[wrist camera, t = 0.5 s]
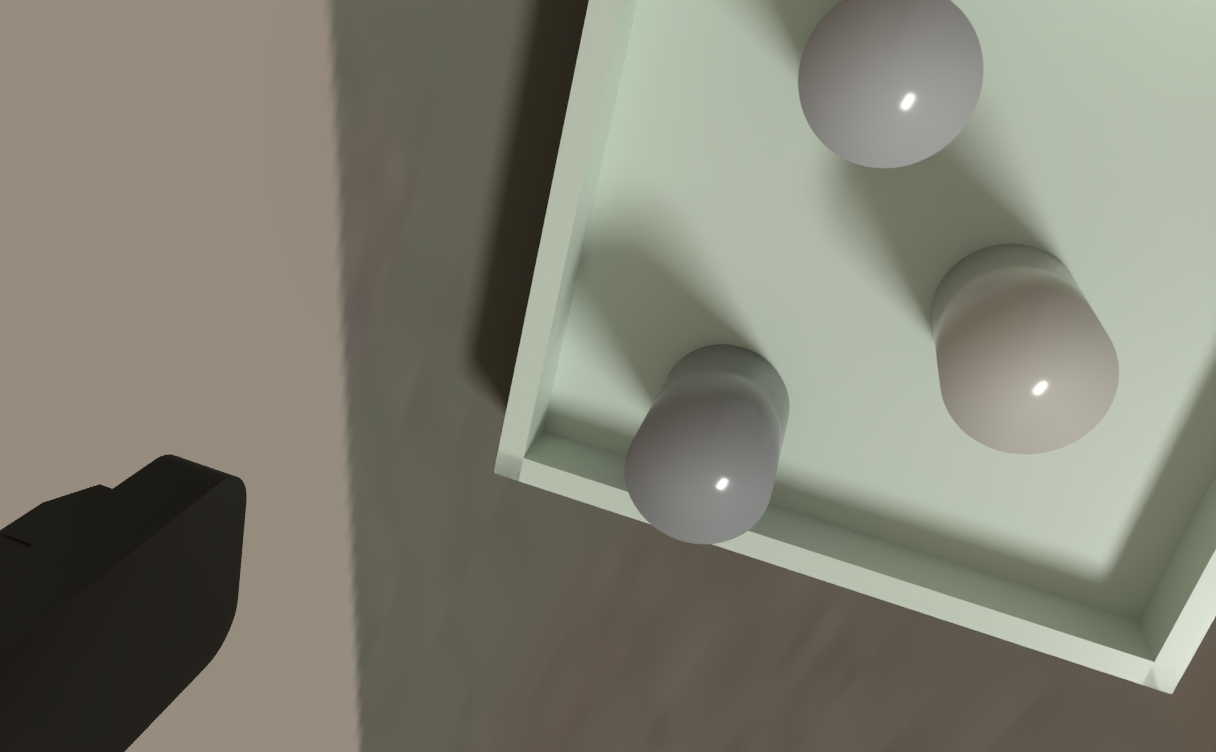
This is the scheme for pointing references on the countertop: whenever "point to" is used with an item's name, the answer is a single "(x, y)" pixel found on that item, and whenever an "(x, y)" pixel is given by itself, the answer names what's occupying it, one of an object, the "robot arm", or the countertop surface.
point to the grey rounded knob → (710, 446)
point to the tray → (899, 308)
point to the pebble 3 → (1021, 351)
